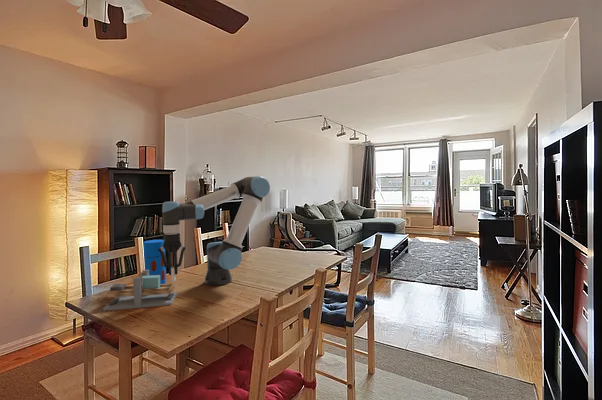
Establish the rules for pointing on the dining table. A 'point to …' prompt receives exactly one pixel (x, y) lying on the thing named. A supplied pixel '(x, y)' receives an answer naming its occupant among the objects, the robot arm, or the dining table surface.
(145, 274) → the beam
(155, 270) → the thermos
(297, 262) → the dining table surface
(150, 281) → the block
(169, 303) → the stand
